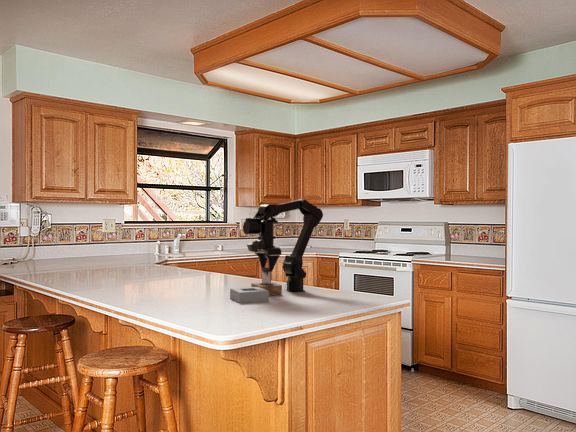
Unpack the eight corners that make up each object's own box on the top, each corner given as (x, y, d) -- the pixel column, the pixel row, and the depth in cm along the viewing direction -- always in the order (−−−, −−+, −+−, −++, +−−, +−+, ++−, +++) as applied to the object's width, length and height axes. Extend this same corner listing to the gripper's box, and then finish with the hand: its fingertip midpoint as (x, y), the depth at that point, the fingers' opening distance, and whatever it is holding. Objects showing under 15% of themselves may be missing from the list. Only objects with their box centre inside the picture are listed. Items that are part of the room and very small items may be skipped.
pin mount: (272, 291, 228) (272, 282, 228) (281, 294, 219) (281, 285, 219) (251, 292, 224) (251, 283, 224) (259, 296, 215) (259, 286, 215)
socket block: (258, 296, 214) (258, 286, 214) (268, 301, 203) (268, 290, 203) (230, 298, 209) (230, 288, 209) (239, 303, 198) (239, 292, 198)
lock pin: (269, 292, 225) (269, 267, 225) (273, 294, 221) (273, 268, 221) (259, 293, 223) (259, 267, 223) (263, 294, 219) (263, 268, 219)
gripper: (241, 233, 227) (241, 269, 227) (256, 235, 210) (256, 273, 210) (265, 232, 232) (265, 267, 232) (282, 234, 214) (281, 272, 215)
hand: (266, 270), depth 222 cm, fingers open, 9 cm apart
